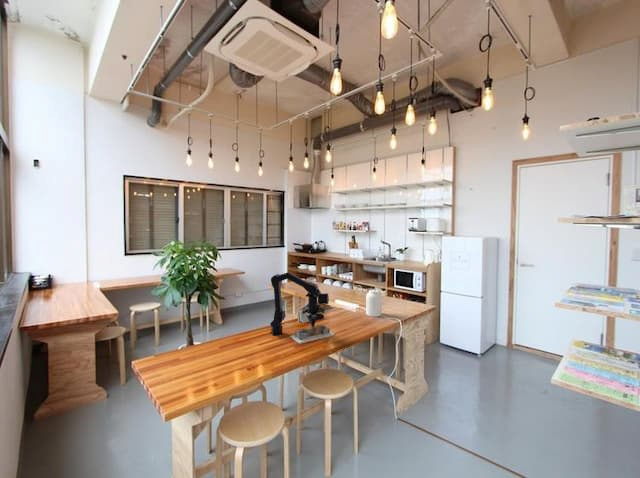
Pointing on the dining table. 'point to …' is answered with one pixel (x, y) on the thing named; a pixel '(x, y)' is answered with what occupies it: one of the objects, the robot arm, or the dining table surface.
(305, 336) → the end cap plate
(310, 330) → the slat
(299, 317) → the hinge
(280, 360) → the dining table surface
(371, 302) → the can
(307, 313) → the robot arm
